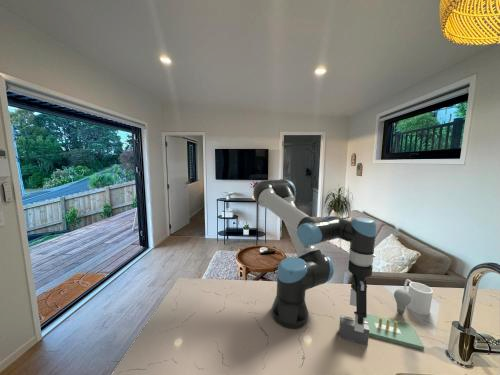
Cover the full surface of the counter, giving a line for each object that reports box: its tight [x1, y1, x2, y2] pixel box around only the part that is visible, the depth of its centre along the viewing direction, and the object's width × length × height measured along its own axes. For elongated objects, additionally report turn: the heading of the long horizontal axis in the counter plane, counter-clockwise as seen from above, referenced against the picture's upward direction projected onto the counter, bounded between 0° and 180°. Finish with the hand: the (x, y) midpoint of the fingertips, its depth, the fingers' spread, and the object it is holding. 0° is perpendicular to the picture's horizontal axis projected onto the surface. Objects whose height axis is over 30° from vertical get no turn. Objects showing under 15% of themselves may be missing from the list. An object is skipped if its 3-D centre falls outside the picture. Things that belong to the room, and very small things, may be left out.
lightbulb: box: [393, 288, 411, 315], centre depth 91 cm, size 6×6×11 cm
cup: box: [403, 278, 434, 316], centre depth 97 cm, size 8×12×10 cm
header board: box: [365, 313, 425, 351], centre depth 83 cm, size 20×11×5 cm, turn 71°
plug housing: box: [338, 314, 370, 347], centre depth 79 cm, size 9×4×6 cm, turn 71°
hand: (355, 317), depth 78 cm, fingers open, 13 cm apart
